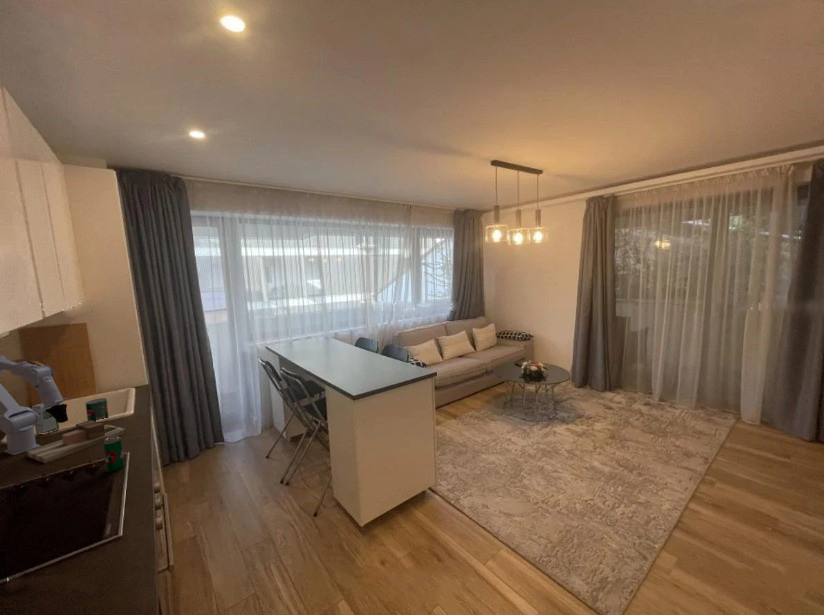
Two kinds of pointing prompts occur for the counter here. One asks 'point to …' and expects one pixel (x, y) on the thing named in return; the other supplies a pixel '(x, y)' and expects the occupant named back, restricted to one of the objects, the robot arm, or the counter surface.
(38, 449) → the pit track
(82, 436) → the bar
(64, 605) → the counter surface
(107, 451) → the soda can
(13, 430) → the robot arm
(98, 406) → the canned tomato
